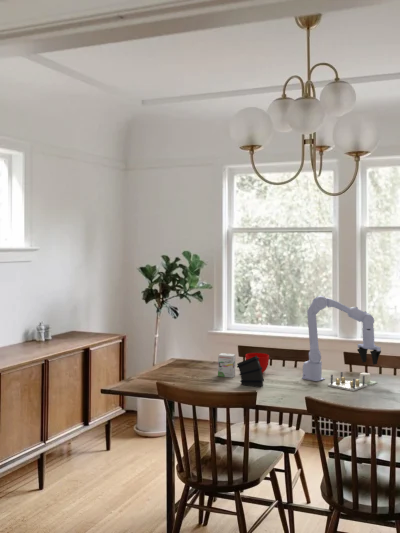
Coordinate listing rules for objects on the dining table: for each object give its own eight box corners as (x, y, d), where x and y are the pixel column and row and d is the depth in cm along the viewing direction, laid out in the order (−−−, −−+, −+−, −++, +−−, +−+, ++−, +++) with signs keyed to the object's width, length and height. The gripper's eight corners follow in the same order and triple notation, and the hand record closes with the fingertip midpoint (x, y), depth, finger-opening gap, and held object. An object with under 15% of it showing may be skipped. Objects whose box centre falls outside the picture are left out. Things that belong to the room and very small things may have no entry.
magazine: (266, 385, 280) (255, 356, 282) (244, 393, 285) (233, 365, 288) (269, 383, 283) (257, 355, 286) (247, 391, 289) (236, 364, 291)
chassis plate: (327, 386, 286) (328, 375, 285) (342, 381, 296) (342, 371, 295) (353, 391, 276) (353, 379, 276) (367, 386, 286) (367, 375, 286)
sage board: (352, 382, 295) (352, 373, 295) (359, 380, 300) (359, 371, 300) (370, 386, 288) (371, 376, 288) (377, 383, 293) (377, 374, 293)
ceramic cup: (275, 371, 320) (276, 353, 320) (262, 376, 306) (262, 358, 305) (255, 368, 327) (255, 351, 327) (241, 373, 313) (241, 355, 312)
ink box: (217, 376, 305) (217, 354, 305) (220, 374, 310) (220, 352, 310) (232, 377, 302) (232, 355, 302) (235, 375, 307) (235, 354, 307)
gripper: (384, 337, 290) (385, 364, 291) (364, 334, 303) (365, 360, 304) (374, 339, 287) (375, 366, 287) (354, 336, 300) (355, 362, 300)
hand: (369, 363), depth 295 cm, fingers open, 7 cm apart
